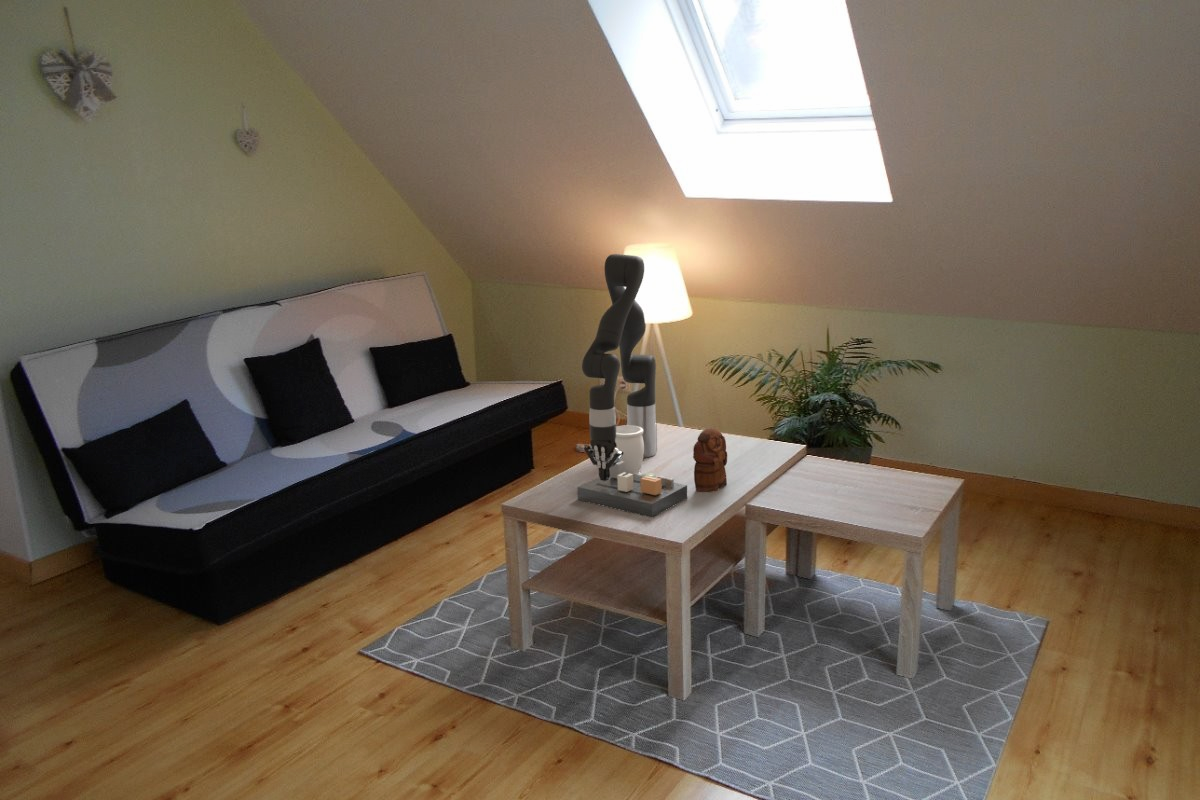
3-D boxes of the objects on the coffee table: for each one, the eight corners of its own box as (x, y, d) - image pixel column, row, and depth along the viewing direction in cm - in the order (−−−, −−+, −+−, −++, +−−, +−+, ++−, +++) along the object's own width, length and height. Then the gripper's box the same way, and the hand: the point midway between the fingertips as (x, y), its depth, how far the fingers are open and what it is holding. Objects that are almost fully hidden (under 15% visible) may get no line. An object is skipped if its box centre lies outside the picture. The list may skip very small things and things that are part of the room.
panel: (614, 482, 305) (613, 462, 303) (687, 498, 289) (687, 477, 288) (577, 499, 291) (577, 478, 289) (652, 517, 276) (651, 495, 274)
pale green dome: (647, 478, 294) (647, 472, 294) (658, 481, 292) (658, 474, 291) (639, 482, 291) (639, 475, 291) (650, 484, 289) (650, 478, 288)
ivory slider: (624, 486, 288) (623, 471, 287) (633, 488, 286) (633, 473, 285) (617, 489, 285) (617, 474, 284) (626, 492, 283) (626, 476, 282)
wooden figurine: (709, 495, 292) (709, 435, 287) (691, 490, 296) (691, 432, 291) (731, 483, 301) (731, 426, 296) (713, 479, 304) (713, 422, 300)
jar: (641, 482, 304) (640, 435, 300) (607, 481, 306) (606, 433, 302) (646, 471, 314) (646, 425, 310) (614, 470, 316) (613, 424, 312)
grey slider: (616, 473, 299) (616, 459, 298) (625, 475, 297) (624, 461, 296) (610, 476, 296) (609, 462, 295) (618, 478, 295) (618, 463, 293)
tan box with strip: (646, 489, 285) (646, 475, 284) (661, 492, 282) (661, 478, 281) (640, 492, 283) (640, 477, 282) (655, 495, 280) (655, 481, 279)
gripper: (629, 422, 284) (630, 480, 289) (592, 415, 292) (594, 472, 297) (613, 428, 279) (615, 487, 283) (576, 422, 286) (578, 479, 291)
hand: (604, 479), depth 290 cm, fingers closed
